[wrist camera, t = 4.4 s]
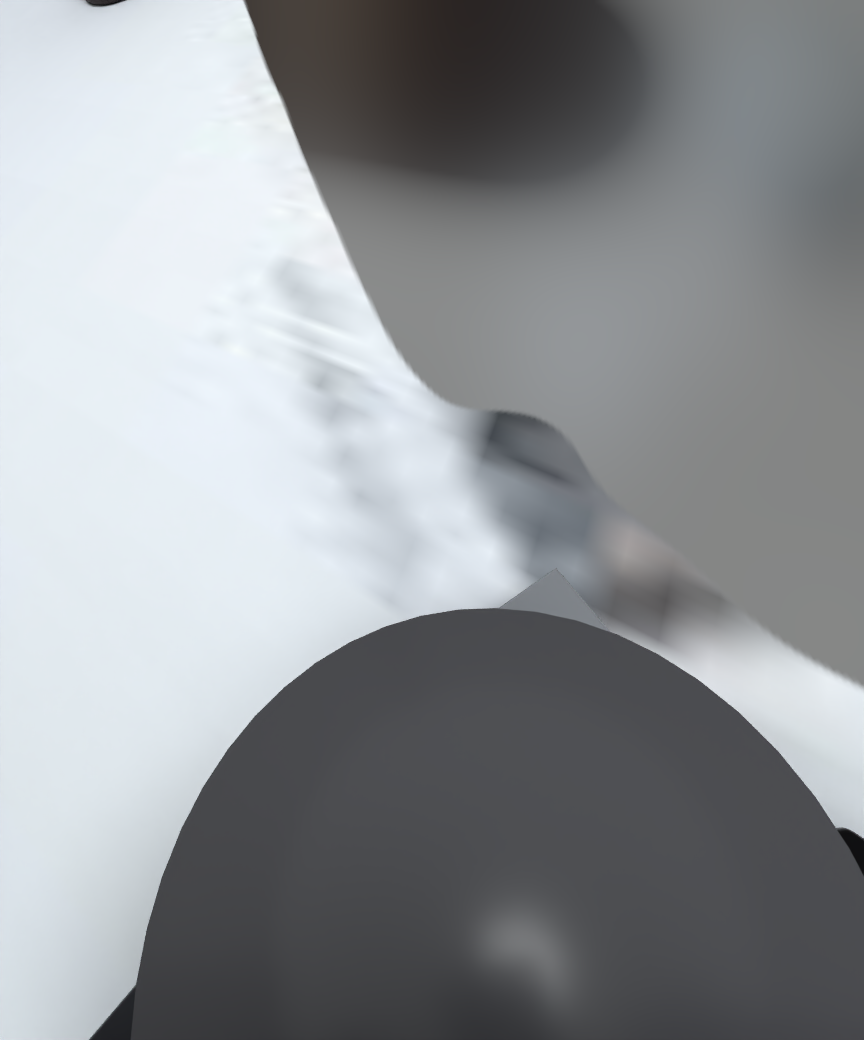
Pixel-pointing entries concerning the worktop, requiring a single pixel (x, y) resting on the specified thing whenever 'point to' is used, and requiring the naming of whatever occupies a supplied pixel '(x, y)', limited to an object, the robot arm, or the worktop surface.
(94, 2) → the vinegar
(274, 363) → the worktop surface
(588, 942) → the blue-grey upright cylinder
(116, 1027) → the robot arm
